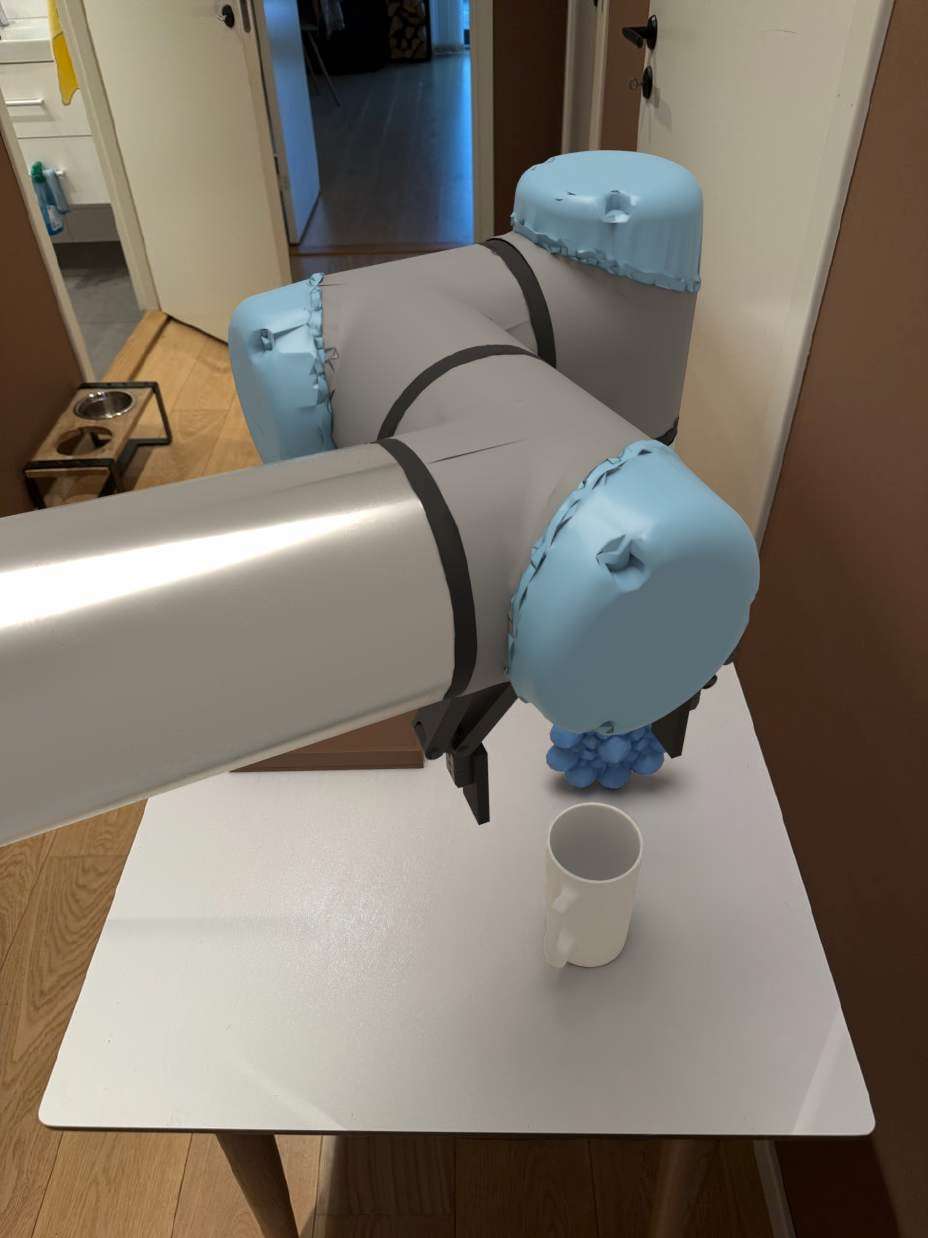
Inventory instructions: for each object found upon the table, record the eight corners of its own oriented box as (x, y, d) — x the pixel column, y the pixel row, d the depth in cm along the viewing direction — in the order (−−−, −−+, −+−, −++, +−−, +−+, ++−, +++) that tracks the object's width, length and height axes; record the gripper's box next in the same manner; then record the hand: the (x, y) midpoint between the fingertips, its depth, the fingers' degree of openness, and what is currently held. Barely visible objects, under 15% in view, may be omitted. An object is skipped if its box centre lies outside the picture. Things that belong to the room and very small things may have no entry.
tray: (423, 768, 86) (421, 750, 84) (228, 772, 86) (223, 754, 85) (432, 572, 108) (431, 555, 106) (277, 576, 108) (273, 559, 106)
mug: (569, 879, 76) (575, 788, 68) (644, 918, 73) (659, 828, 65) (505, 977, 70) (504, 889, 62) (584, 1024, 67) (593, 938, 59)
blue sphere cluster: (666, 746, 87) (681, 653, 79) (678, 805, 82) (696, 711, 74) (542, 749, 87) (544, 656, 79) (546, 807, 82) (550, 715, 74)
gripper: (761, 413, 52) (708, 681, 66) (328, 520, 45) (372, 791, 59) (849, 481, 46) (771, 757, 60) (372, 612, 40) (410, 886, 54)
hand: (573, 774), depth 60 cm, fingers open, 13 cm apart
